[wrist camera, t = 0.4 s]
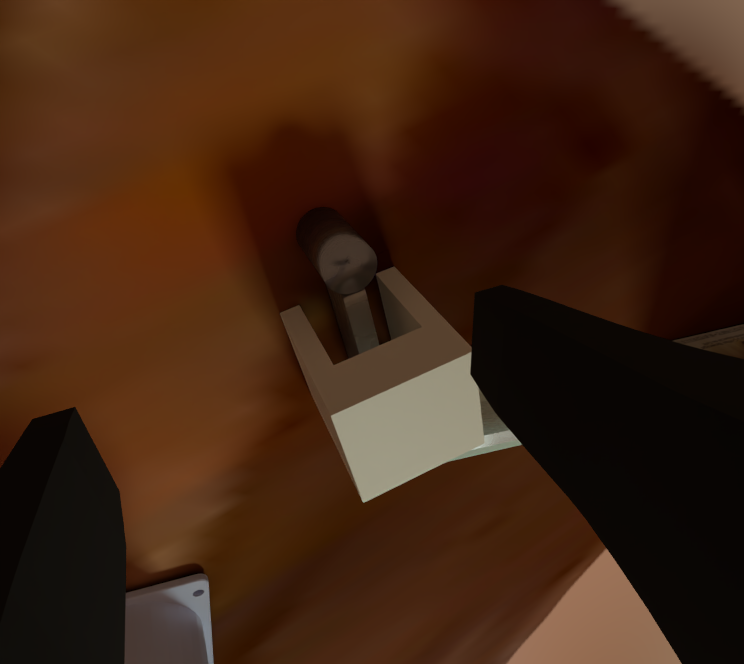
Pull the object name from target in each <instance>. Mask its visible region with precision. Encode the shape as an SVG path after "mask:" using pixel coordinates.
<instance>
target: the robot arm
mask: <svg viewBox="0 0 744 664" xmlns="http://www.w3.org/2000/svg"><path fill="white" fill-rule="evenodd" d="M470 375H471V376H472V378H473V379H474V381H475V383H476V384H477V386H478V387H479V389H480V391H481V392H482V394H483V395H484V397H485V398H486V400H487V401H488V403H489V404H490V406H491V407H492V409H493V410H494V412H495V413H496V414H497V416H498V417H499V418H500V419H501V420H502V422H503V423H504V424H505V425H506V426H507V428H508V429H509V430H510V431H511V432H512V433H513V435H514V436H515V437H516V438H517V439H518V440H519V441H520V443H521V444H522V445H523V446H524V447H525V448H526V449H527V451H528V452H529V453H530V454H531V455H532V456H533V457H534V459H535V460H536V461H537V462H538V463H539V464H540V465H541V467H542V468H543V469H544V470H545V471H546V472H547V473H548V475H549V476H550V477H551V478H552V479H553V480H554V481H555V483H556V484H557V485H558V486H559V487H560V488H561V489H562V491H563V492H564V493H565V494H566V495H567V496H568V497H569V499H570V500H571V501H572V502H573V504H574V505H575V506H576V507H577V509H578V510H579V511H580V512H581V513H582V515H583V516H584V517H585V519H586V520H587V521H588V523H589V524H590V526H591V527H592V528H593V530H594V531H595V533H596V534H597V535H598V537H599V538H600V540H601V541H602V542H603V544H604V545H605V547H606V548H607V549H608V551H609V552H610V554H611V555H612V556H613V558H614V559H615V561H616V562H617V564H618V565H619V567H620V568H621V570H622V571H623V572H624V574H625V575H626V577H627V579H628V580H629V581H630V583H631V585H632V586H633V588H634V589H635V591H636V592H637V593H638V595H639V597H640V598H641V599H642V601H643V602H644V604H645V606H646V607H647V608H648V610H649V612H650V613H651V615H652V616H653V618H654V620H655V621H656V622H657V624H658V626H659V628H660V629H661V631H662V632H663V634H664V636H665V637H666V639H667V641H668V642H669V644H670V645H671V647H672V649H673V650H674V652H675V653H676V654H677V657H678V658H679V660H680V661H681V663H682V664H744V359H741V358H737V357H733V356H728V355H724V354H720V353H716V352H712V351H707V350H703V349H699V348H696V347H692V346H688V345H684V344H681V343H677V342H674V341H670V340H667V339H664V338H661V337H657V336H654V335H651V334H647V333H644V332H641V331H637V330H634V329H631V328H628V327H625V326H622V325H619V324H616V323H613V322H610V321H607V320H604V319H602V318H599V317H596V316H593V315H590V314H587V313H584V312H582V311H579V310H576V309H573V308H570V307H568V306H565V305H562V304H559V303H556V302H554V301H551V300H548V299H545V298H542V297H539V296H536V295H534V294H531V293H528V292H525V291H521V290H518V289H515V288H511V287H508V286H504V285H500V286H497V287H493V288H490V289H486V290H483V291H479V292H476V293H475V300H474V317H473V334H472V351H471V368H470ZM0 664H214V663H213V647H212V631H211V615H210V599H209V583H208V577H207V575H205V574H195V575H191V576H187V577H183V578H180V579H176V580H172V581H168V582H165V583H161V584H157V585H153V586H150V587H146V588H142V589H139V590H135V591H131V592H127V593H126V542H125V533H124V523H123V516H122V508H121V500H120V492H119V489H118V488H117V486H116V484H115V482H114V480H113V478H112V476H111V474H110V472H109V470H108V469H107V467H106V465H105V463H104V461H103V459H102V457H101V455H100V453H99V451H98V450H97V448H96V446H95V444H94V442H93V440H92V438H91V436H90V434H89V433H88V431H87V429H86V427H85V425H84V423H83V421H82V419H81V417H80V415H79V414H78V412H77V410H76V408H75V407H73V408H70V409H66V410H63V411H59V412H56V413H52V414H49V415H45V416H42V417H38V418H35V419H32V421H31V422H30V424H29V425H28V427H27V428H26V430H25V431H24V433H23V434H22V436H21V437H20V439H19V440H18V442H17V443H16V445H15V446H14V448H13V450H12V451H11V453H10V454H9V456H8V457H7V459H6V460H5V462H4V464H3V465H2V467H1V468H0Z"/></svg>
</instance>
